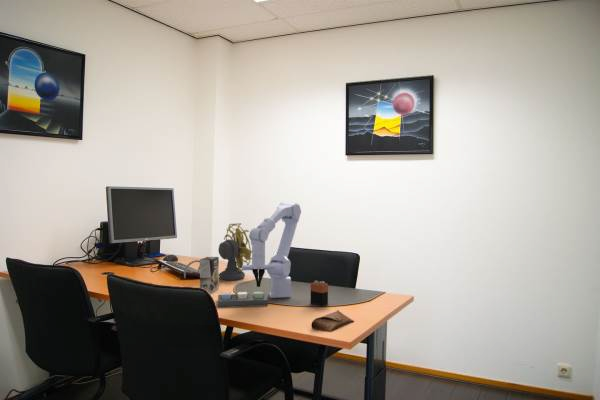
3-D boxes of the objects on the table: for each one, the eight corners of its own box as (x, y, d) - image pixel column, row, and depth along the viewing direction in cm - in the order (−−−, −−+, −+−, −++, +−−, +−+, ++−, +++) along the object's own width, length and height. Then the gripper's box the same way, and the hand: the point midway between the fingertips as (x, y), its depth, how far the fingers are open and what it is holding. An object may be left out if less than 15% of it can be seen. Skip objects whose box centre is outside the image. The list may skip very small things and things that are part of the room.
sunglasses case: (330, 332, 172) (322, 314, 173) (316, 339, 175) (308, 321, 177) (355, 320, 186) (348, 304, 188) (342, 327, 190) (334, 311, 192)
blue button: (230, 299, 214) (230, 292, 214) (230, 301, 210) (230, 294, 210) (221, 299, 213) (221, 292, 213) (221, 301, 209) (221, 294, 209)
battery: (321, 306, 208) (322, 283, 207) (310, 303, 212) (310, 280, 212) (328, 304, 211) (328, 281, 211) (316, 301, 216) (316, 279, 215)
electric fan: (256, 280, 261) (256, 224, 260) (200, 287, 243) (200, 227, 242) (234, 272, 283) (234, 221, 282) (181, 278, 265) (181, 223, 264)
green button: (262, 298, 216) (262, 291, 216) (263, 300, 212) (263, 293, 212) (253, 298, 215) (253, 291, 215) (254, 300, 211) (254, 293, 211)
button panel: (265, 298, 220) (265, 293, 220) (267, 305, 208) (267, 299, 208) (218, 300, 217) (218, 294, 217) (217, 307, 205) (217, 301, 205)
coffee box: (212, 293, 230) (212, 259, 229) (199, 292, 231) (199, 259, 231) (219, 289, 239) (219, 256, 238) (206, 288, 240) (206, 256, 240)
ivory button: (246, 298, 215) (246, 292, 215) (247, 300, 211) (247, 294, 211) (237, 299, 214) (237, 292, 214) (237, 301, 210) (237, 294, 210)
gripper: (242, 257, 208) (242, 288, 208) (275, 256, 210) (275, 287, 211) (241, 254, 215) (241, 285, 215) (274, 254, 217) (274, 284, 218)
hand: (258, 286), depth 213 cm, fingers closed
